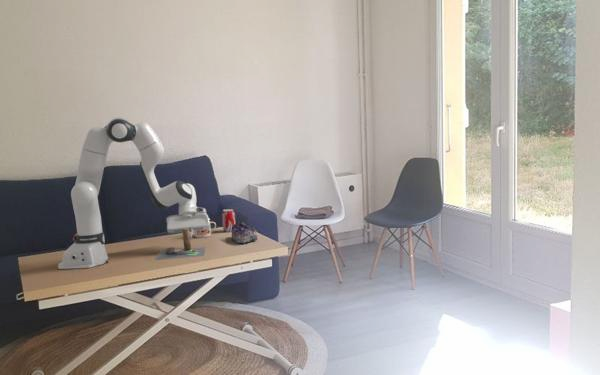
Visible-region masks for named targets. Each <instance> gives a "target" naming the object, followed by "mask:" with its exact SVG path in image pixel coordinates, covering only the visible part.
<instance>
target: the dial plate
mask: <svg viewBox="0 0 600 375" xmlns="http://www.w3.org/2000/svg"><path fill="white" fill-rule="evenodd" d="M193 249H195V250H196V252H175V253H173V254H166V250H159V252H158V253H157V256H156V258H155V261H163V260H172V259H182V258H183V259H185V258H193V257H194V258H195V257H204V256H205V253H206V252H205V251H206V247H205V246H202V247H201V246H200V247H191V250H193ZM177 250H184V248H180V249H179V248H178V249H177Z"/></svg>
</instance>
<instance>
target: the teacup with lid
mask: <svg viewBox="0 0 600 375" xmlns="http://www.w3.org/2000/svg"><path fill="white" fill-rule="evenodd" d="M209 223H210V224H214V227H213V228H211V226H210V228H209V229H208V230H198V231H194V237H195V238H198V239H199V238H200V239H202V238H209V237H211V236H212V232H213V231H215V230H216V227H217V224H216V222H214V221H211V218H209Z"/></svg>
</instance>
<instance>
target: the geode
mask: <svg viewBox="0 0 600 375" xmlns="http://www.w3.org/2000/svg"><path fill="white" fill-rule="evenodd" d="M231 227H232V232H231V239H232V240H233V241H235V243H238V244H242V245H245V244H247V243H251V242H253V241H257V240H258V234H257V229H255V227H253V226H250V225H247V224H245V223H244V222H243V221H242V220H241V221H240V222H238V221H235V224H234V225H233V226H231Z"/></svg>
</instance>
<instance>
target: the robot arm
mask: <svg viewBox="0 0 600 375" xmlns="http://www.w3.org/2000/svg"><path fill="white" fill-rule="evenodd" d="M129 141H131V142H132V143H133V144H134V145H135V147H136V149H137V150H138V152H139V155H140V158H141V159H140V162H139V166H140V171H141V173H142V175H143V178H144V180H145V183H146V185H147V189H148V191H149V194H150V198H151V202H152V204H153V205H154V207H156V208H157V209H160V210H164V211H165V210H166V209H168V208H169V207H171V206H174V205H175V204H178V214H173V215H169V216H167V217H166V231H167V232H168V234H175V233H176V234H177V233H183V230H182V229H186V228H188V229H189V230H190V240H191V239H193V235H194V234H195V231H198V230H208V229H209V228H210V227H211V223H209V219H210V217H209V215H208V214H207V209H206V208H205V207H198V206H197V193H196V188H195V187H194V185H192V184H191V183H188V182H187V183H185V181H181V180H176V181H173V182H171V183H169V184H167V185H166V186H163V187H160V184H159V183H158V180H157V178H156V174H155V168H156V166H157V165H158V164H159V163H160V162H161V160H162V158H163V157H164V153H165V148H164V145H163V143H162V141H161V140H160V138H159V136H158V134H157V133H156V131H154V129H153V128H152V126H150V125H149V123H147V122H138V123H136V124H133V123H130V122H129V121H128V120H127V119H125V118H122V117H114V118H112V119H111V120H110V121H109V122H108V123H107V125H105V126H104V127H92V128H90V129H89V130H88V132H87V134H86V136H85V139H84V142H83V144H82V150H81V153H80V158H79V161H78V168H77V174H76V180H75V185H73V187H72V189H71V192H70V197H71V203H72V207H73V212H74V217H75V224H76V225H75V226H76V233H75V234H74V236H73V237H72V241H73V243H72V244H71V245H70V246H68V248H67V249H66V250H65V251H64V252H63V255H62V260H61V262H59V263H58V264H57V269H58V270H65V269H67V270H69V269H70V270H71V269H90V268H93V267H96V266H100V265H103V264H104V265H105V264H106V263H108V262H109V261H108V259H109V255H108V253H107V250H106V246H105V242H106V241H105V233H104V231H103V225H102V224H103V222H102V215H101V210H100V205H99V199H98V196H99V194H100V191H101V190H100V189H101V184H102V180H103V174H104V169H105V166H106V161H107V158H108V154H109V148H110V146H111V145H112V143H113V142H116V143H125V142H129Z"/></svg>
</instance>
